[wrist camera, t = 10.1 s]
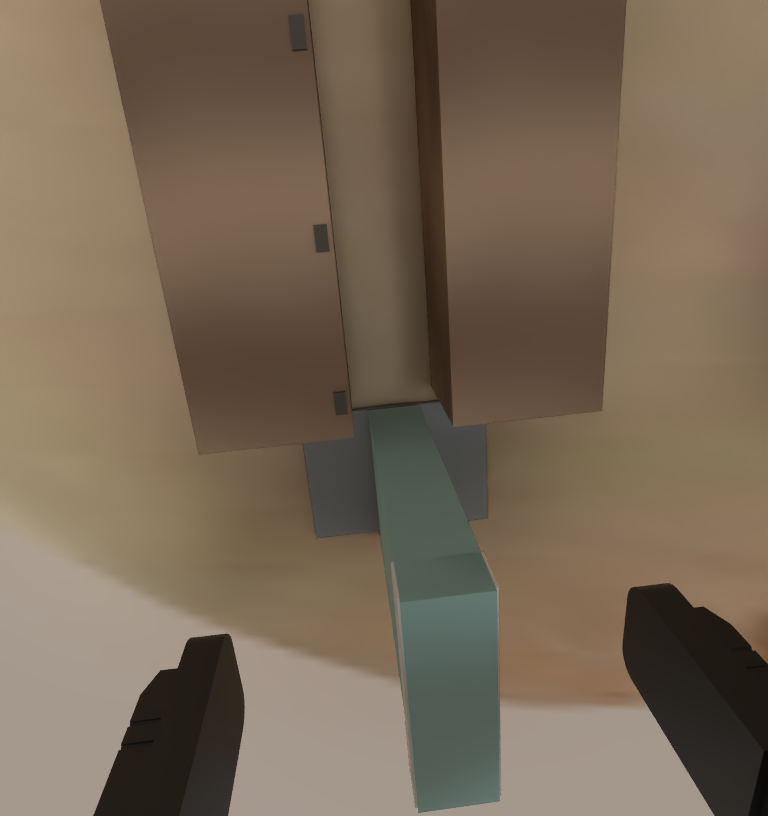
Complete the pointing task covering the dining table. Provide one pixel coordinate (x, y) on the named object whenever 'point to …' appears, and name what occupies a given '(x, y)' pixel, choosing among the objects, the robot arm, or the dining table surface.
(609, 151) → the wooden slotted block
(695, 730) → the robot arm
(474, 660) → the stub
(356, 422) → the mat
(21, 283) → the dining table surface
